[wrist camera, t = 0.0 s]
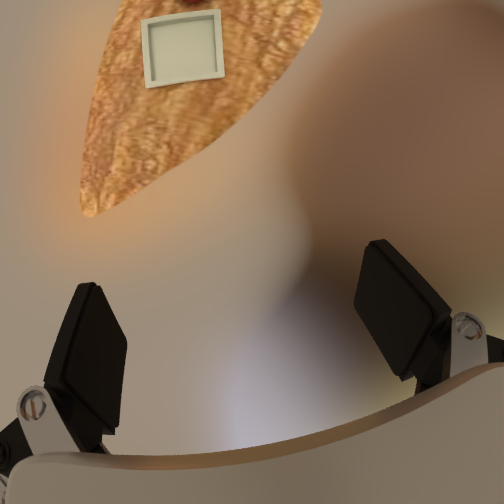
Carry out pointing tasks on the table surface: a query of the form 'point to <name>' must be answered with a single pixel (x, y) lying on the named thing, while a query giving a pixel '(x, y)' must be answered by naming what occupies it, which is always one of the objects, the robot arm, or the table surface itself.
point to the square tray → (182, 48)
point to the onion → (193, 0)
